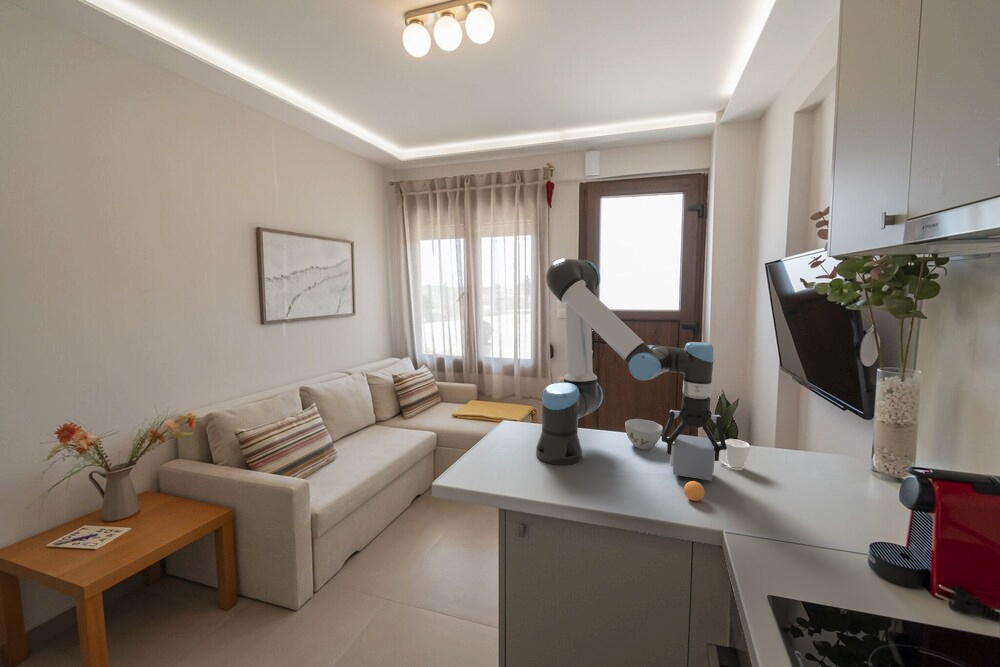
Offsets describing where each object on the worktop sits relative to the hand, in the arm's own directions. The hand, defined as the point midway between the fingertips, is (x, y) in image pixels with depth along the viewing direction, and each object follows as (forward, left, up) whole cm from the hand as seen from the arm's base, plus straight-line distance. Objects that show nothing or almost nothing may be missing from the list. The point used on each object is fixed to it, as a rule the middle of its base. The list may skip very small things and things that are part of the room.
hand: (691, 467), depth 127 cm
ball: (0, -15, 0) cm, 15 cm away
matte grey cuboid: (0, 0, -1) cm, 1 cm away
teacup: (-14, +19, -3) cm, 24 cm away
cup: (+12, +12, -3) cm, 17 cm away
